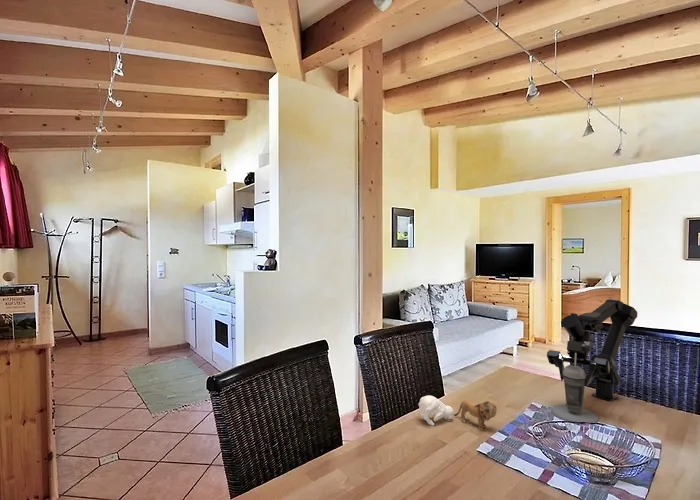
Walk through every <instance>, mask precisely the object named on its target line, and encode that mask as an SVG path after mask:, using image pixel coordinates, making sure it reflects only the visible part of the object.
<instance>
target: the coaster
mask: <svg viewBox="0 0 700 500" xmlns="http://www.w3.org/2000/svg"><path fill="white" fill-rule="evenodd" d="M550 412H551V414H552V415H553V416H555V417H556V418H557V419H559V420H562V421H565V422H568V421H577V422H584V421H585V422H597V423H598V422H599V416H598V415H597V414H596V413H595V412H593V411H592V410H590V409H587V408H584V407H583V408H582V412H572V411H569V410H568V409H567V404H555V405H553V406H551V408H550Z"/></svg>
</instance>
